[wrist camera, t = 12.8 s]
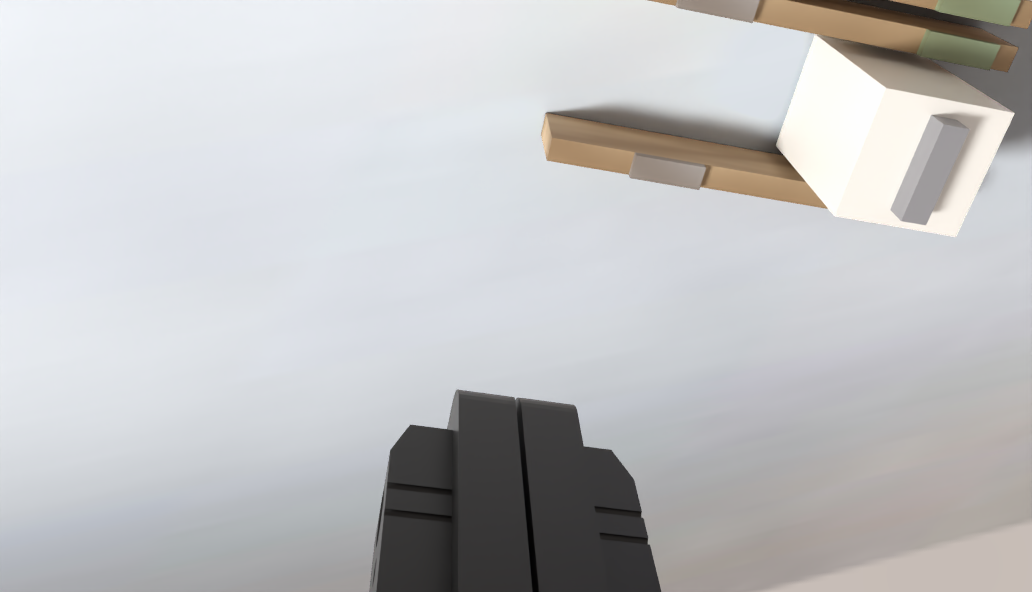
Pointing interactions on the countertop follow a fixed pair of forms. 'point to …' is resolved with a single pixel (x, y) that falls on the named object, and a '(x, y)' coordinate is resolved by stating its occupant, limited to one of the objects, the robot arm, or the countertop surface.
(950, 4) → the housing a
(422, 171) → the countertop surface
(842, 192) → the tab
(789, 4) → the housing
